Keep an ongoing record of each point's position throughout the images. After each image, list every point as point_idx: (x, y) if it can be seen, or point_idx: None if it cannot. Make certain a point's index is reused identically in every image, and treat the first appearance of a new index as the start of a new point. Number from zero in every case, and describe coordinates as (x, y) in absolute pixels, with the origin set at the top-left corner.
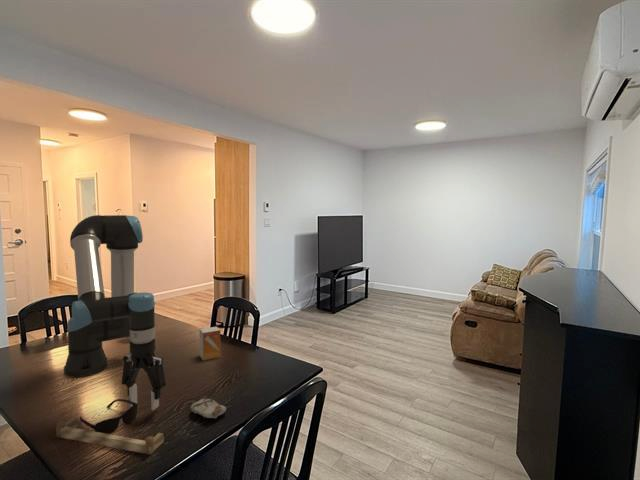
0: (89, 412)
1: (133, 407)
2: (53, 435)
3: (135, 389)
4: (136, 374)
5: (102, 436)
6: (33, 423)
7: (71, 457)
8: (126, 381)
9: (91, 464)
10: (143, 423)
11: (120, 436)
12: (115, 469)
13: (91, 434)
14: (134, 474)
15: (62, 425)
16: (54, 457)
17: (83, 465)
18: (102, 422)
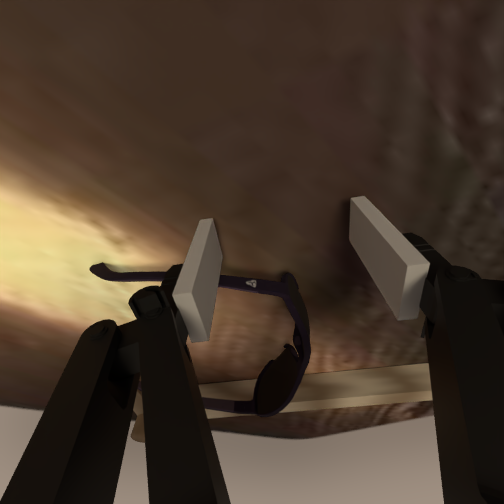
0: (76, 310)
1: (305, 327)
2: None
3: (203, 282)
4: (199, 412)
5: (315, 409)
6: (12, 390)
7: (276, 417)
8: (138, 372)
9: (345, 416)
10: (355, 286)
11: (373, 396)
12: (416, 410)
13: None
14: None
15: None
16: (238, 426)
17: (329, 421)
18: (274, 409)
